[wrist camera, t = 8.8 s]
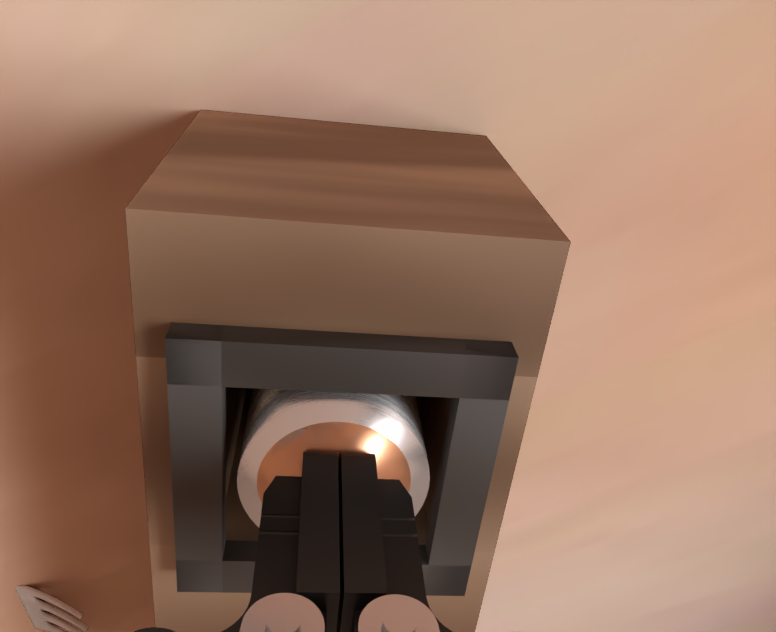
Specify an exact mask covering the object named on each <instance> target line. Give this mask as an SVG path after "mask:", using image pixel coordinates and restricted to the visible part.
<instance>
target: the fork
mask: <svg viewBox="0 0 776 632" xmlns="http://www.w3.org/2000/svg"><path fill="white" fill-rule="evenodd" d="M15 589H16V592H17V593H18V595H19V598H20V600H21V602H22V604H23V606H24V607H25V609H26V611H27V613H28V615H29V617H30V619H31V621H32V623H33V625H34V627H35V628H37V629H41V630H45V631H49V632H66V631H64V630H62V629H60V628H58V627H56V626H54V625H52V624H50V623H48V622H51V623H53V624H56V625H58V626H60V627H62V628H64V629H66V630H68V631H70V632H82V631H81V630H79V629H77V628H75V627H74V626H72V625H70V624H68V623H66V622H64V621H63V620H61V619H59V618H57V617H54V616H52V615H50V614H48V613H46V612H44V611H43V610H45V611H48V612H50V613H53V614H55V615H57V616H59V617H61V618H63V619H65V620H67V621H69V622H71V623H72V624H74V625H76V626H78V627H79V628H81V629H82V630H84V631H86V630H88V628H89V627H88V626H87V625H85V624H84V623H82V622H81V621H79V620H77V619H76V618H74V617H72V616H70V615H68V614H67V613H65V612H63V611H61V610H59V609H57V608H55V607H53V606H51V605H49V604H47V603H45V602H43V601H41V600H39V599H37V598H40V599H43V600H45V601H48V602H50V603H52V604H54V605H56V606H58V607H60V608H62V609H64V610H66V611H68V612H69V613H71V614H73V615H75V616H76V617H77V618H79V619H81V618H82V617H83V614H82V613H81V612H79V611H78V610H76V609H74V608H73V607H71V606H69V605H67V604H66V603H64V602H62V601H60V600H58V599H56V598H54V597H53V596H50V595H48V594H46V593H44V592H42V591H39V590H37V589H35V588H32V587H29V586H26V585H19V586H17V587H16V588H15ZM36 597H37V598H36ZM41 609H42V610H41ZM47 621H48V622H47Z"/></svg>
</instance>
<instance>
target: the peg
mask: <svg viewBox="0 0 776 632" xmlns="http://www.w3.org/2000/svg"><path fill="white" fill-rule="evenodd" d="M303 451H309V452H336V453H338V471H339V460H340V453H367V454H375V456H376V465H377V477H378V479H396V480H400V481H401V483H402V484H403V486H404V487H405V488H406V490H407V491H408V493H409V494H410V496H411V497H412V502H413V509H414V516H416V515H417V514H418V512H419V510H420V509H421V507H422V506H423V503H424V501H425V499H426V496H427V493H428V489H429V481H430V473H429V465H428V459H427V454H426V449H425V443H424V438H423V433H422V427H421V422H420V416H419V411H418V406H417V400H416V396H403V395H382V394H361V393H340V392H320V391H299V390H278V389H257V388H252V393H251V399H250V404H249V410H248V416H247V421H246V427H245V433H244V439H243V444H242V450H241V456H240V461H239V467H238V475H237V488H238V494H239V498H240V501H241V503H242V505H243V508H244V510H245V511H246V513H247V514H248V516H249V517H250V519H251V520H252V521H253V522H254V523H255V524H256V525H257V526H258V527H259V526H260V518H261V510H262V502H263V493H264V492H265V490H266V489H267V488H268V486H269V485H270V483H271V482H272V481H273V479H274V478H275V476H300V477H302V464H303Z"/></svg>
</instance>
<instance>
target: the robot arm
mask: <svg viewBox="0 0 776 632" xmlns="http://www.w3.org/2000/svg"><path fill="white" fill-rule="evenodd" d="M135 632H175V631H173V630H170V629H166V628H158V627H153V628H145V629H141V630H137V631H135ZM221 632H453V631H451V630H449V629H448V628H447V627H445V626H444V625H443V624H442V623H441V622H440V621H439V620H438V619H437V618H436V617H435V616H434V614H433V612H432V611H431V609H430V607H429V604H428V601H427V597H426V590H425V584H424V577H423V570H422V563H421V556H420V550H419V543H418V538H417V529H416V522H415V516H414V509H413V502H412V497H411V496H410V494H409V493H408V491H407V490H406V488H405V487H404V486H403V484H402V483H401V481H400V480H396V479H378V477H377V465H376V456H375V454H367V453H340V460H339V471H338V453H336V452H309V451H303V464H302V477H300V476H275V478H274V479H273V481H272V482H271V483H270V485H269V486H268V488H267V489H266V490H265V492H264V493H263V502H262V510H261V518H260V526H259V535H258V543H257V551H256V560H255V568H254V576H253V585H252V593H251V598H250V602H249V605H248V607H247V609H246V610H245V612H244V614H243V615H242V616H241V617H240V618H239V619H238V620H237V621H236V622H235V623H234V624H233V625H231V626H230V627H228V628H227V629H225V630H223V631H221Z"/></svg>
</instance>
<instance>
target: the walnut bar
mask: <svg viewBox="0 0 776 632" xmlns="http://www.w3.org/2000/svg"><path fill="white" fill-rule="evenodd" d="M125 212H126V226H127V240H128V254H129V268H130V282H131V295H132V309H133V323H134V337H135V351H136V365H137V379H138V393H139V407H140V421H141V435H142V449H143V463H144V477H145V491H146V505H147V519H148V533H149V547H150V561H151V574H152V588H153V602H154V616H155V627H158V628H166V629H170V630H173V631H175V632H221V631H223V630H225V629H227V628H228V627H230V626H231V625H233V624H234V623H235V622H236V621H237V620H238V619H239V618H240V617H241V616H242V615H243V614H244V612H245V610H246V609H247V607H248V605H249V602H250V598H251V593H252V585H253V576H254V568H255V560H256V551H257V543H258V535H259V527H258V526H257V525H256V524H255V523H254V522H253V521H252V520H251V519H250V517H249V516H248V514H247V513H246V511H245V510H244V508H243V505H242V503H241V501H240V498H239V494H238V488H237V475H238V467H239V461H240V456H241V450H242V444H243V439H244V433H245V427H246V421H247V416H248V410H249V404H250V399H251V393H252V388H257V389H278V390H299V391H320V392H340V393H361V394H382V395H403V396H416V400H417V406H418V411H419V416H420V422H421V427H422V433H423V438H424V443H425V449H426V454H427V459H428V465H429V473H430V481H429V489H428V493H427V496H426V499H425V501H424V503H423V506H422V507H421V509H420V510H419V512H418V514H417V515H416V516H415V522H416V529H417V538H418V543H419V550H420V556H421V563H422V570H423V577H424V584H425V590H426V597H427V601H428V604H429V607H430V609H431V611H432V612H433V614H434V616H435V617H436V618H437V619H438V620H439V621H440V622H441V623H442V624H443V625H444V626H445V627H447V628H448V629H449V630H451V631H453V632H475V629H476V625H477V621H478V617H479V613H480V609H481V605H482V600H483V596H484V592H485V588H486V584H487V580H488V576H489V572H490V568H491V564H492V560H493V556H494V552H495V548H496V544H497V540H498V535H499V531H500V527H501V523H502V519H503V515H504V511H505V507H506V503H507V499H508V495H509V491H510V487H511V483H512V479H513V474H514V470H515V466H516V462H517V458H518V454H519V450H520V446H521V442H522V438H523V434H524V430H525V426H526V422H527V418H528V414H529V409H530V405H531V401H532V397H533V393H534V389H535V385H536V381H537V377H538V373H539V369H540V365H541V361H542V357H543V353H544V348H545V344H546V340H547V336H548V332H549V328H550V324H551V320H552V316H553V312H554V308H555V304H556V300H557V296H558V292H559V288H560V283H561V279H562V275H563V271H564V267H565V263H566V259H567V255H568V251H569V247H570V243H571V242H570V240H569V239H568V238H567V237H566V235H565V234H564V233H563V232H562V230H561V229H560V228H559V227H558V225H557V224H556V223H555V222H554V220H553V219H552V218H551V217H550V215H549V214H548V213H547V211H546V210H545V209H544V208H543V206H542V205H541V204H540V203H539V201H538V200H537V199H536V198H535V196H534V195H533V194H532V193H531V191H530V190H529V189H528V188H527V186H526V185H525V184H524V183H523V181H522V180H521V179H520V178H519V176H518V175H517V174H516V173H515V171H514V170H513V169H512V168H511V166H510V165H509V164H508V163H507V161H506V160H505V159H504V158H503V156H502V155H501V154H500V153H499V151H498V150H497V149H496V148H495V146H494V145H493V144H492V143H491V141H490V140H489V139H488V138H487V136H481V135H470V134H459V133H448V132H437V131H426V130H415V129H405V128H394V127H383V126H372V125H361V124H350V123H339V122H328V121H317V120H307V119H296V118H285V117H274V116H263V115H252V114H241V113H230V112H220V111H209V110H200V112H199V113H198V114H197V116H196V117H195V118H194V119H193V121H192V122H191V123H190V125H189V126H188V127H187V129H186V130H185V131H184V132H183V134H182V135H181V136H180V138H179V139H178V140H177V142H176V143H175V144H174V145H173V147H172V148H171V149H170V151H169V152H168V153H167V155H166V156H165V157H164V159H163V160H162V161H161V162H160V164H159V165H158V166H157V168H156V169H155V170H154V172H153V173H152V174H151V175H150V177H149V178H148V179H147V181H146V182H145V183H144V185H143V186H142V187H141V188H140V190H139V191H138V192H137V194H136V195H135V196H134V198H133V199H132V200H131V202H130V203H129V204H128V205H127V207H126V208H125Z"/></svg>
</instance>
